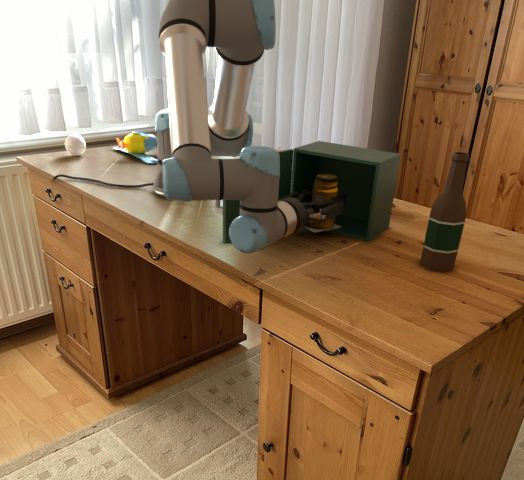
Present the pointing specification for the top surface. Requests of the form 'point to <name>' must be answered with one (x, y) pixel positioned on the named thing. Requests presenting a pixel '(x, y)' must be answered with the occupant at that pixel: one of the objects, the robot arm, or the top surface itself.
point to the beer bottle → (446, 220)
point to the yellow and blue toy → (139, 145)
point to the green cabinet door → (233, 206)
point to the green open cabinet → (351, 183)
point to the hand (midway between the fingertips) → (332, 195)
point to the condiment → (321, 193)
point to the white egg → (75, 145)
